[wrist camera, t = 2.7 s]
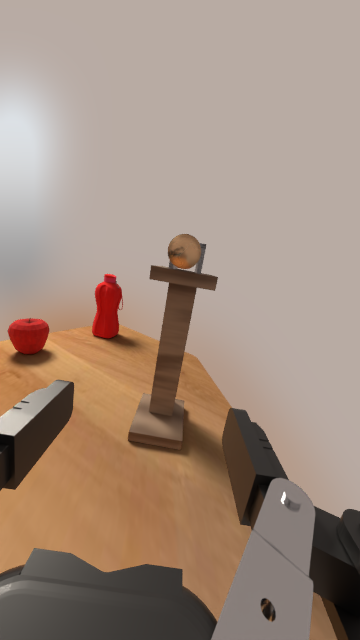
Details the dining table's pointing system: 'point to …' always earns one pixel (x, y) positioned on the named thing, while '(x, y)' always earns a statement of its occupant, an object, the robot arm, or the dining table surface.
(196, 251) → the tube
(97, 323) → the water bottle
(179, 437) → the wooden pedestal stand
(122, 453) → the dining table surface
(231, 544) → the dining table surface
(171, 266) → the grey hollow box
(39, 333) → the apple
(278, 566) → the robot arm
